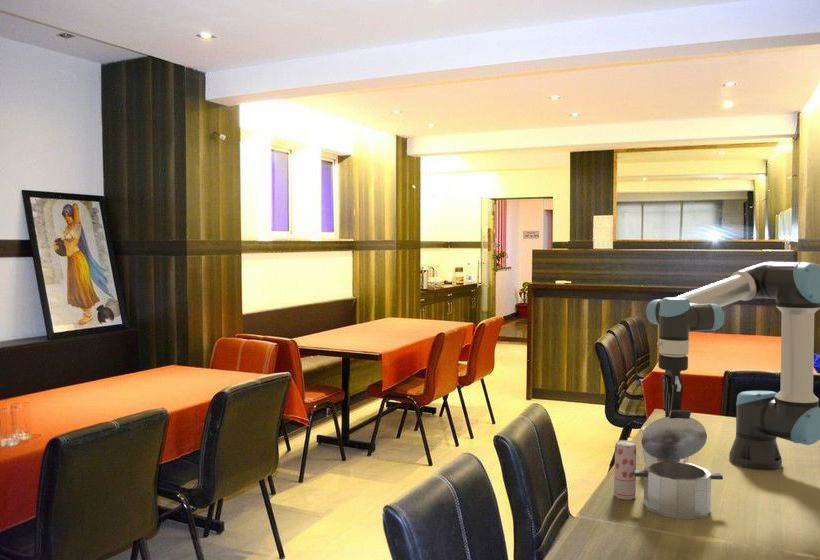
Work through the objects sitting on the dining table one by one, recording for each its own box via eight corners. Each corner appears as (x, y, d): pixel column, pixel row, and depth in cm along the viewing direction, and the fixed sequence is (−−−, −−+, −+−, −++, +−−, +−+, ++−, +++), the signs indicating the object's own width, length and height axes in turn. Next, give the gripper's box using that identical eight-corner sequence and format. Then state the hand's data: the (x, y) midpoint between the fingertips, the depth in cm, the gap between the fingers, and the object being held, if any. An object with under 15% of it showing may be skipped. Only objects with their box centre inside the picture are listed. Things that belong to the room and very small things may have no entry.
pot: (710, 498, 192) (711, 462, 192) (731, 521, 176) (732, 482, 176) (626, 494, 194) (627, 459, 194) (640, 517, 178) (641, 478, 178)
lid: (699, 463, 193) (697, 455, 195) (714, 413, 181) (712, 405, 183) (637, 461, 194) (635, 453, 196) (648, 411, 182) (646, 404, 185)
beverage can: (609, 494, 195) (610, 441, 194) (625, 491, 197) (626, 439, 196) (623, 501, 190) (624, 446, 189) (639, 498, 192) (641, 444, 191)
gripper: (653, 350, 196) (651, 433, 198) (665, 358, 183) (663, 446, 185) (680, 351, 195) (678, 434, 197) (694, 359, 183) (692, 447, 184)
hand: (671, 440), depth 191 cm, fingers closed
